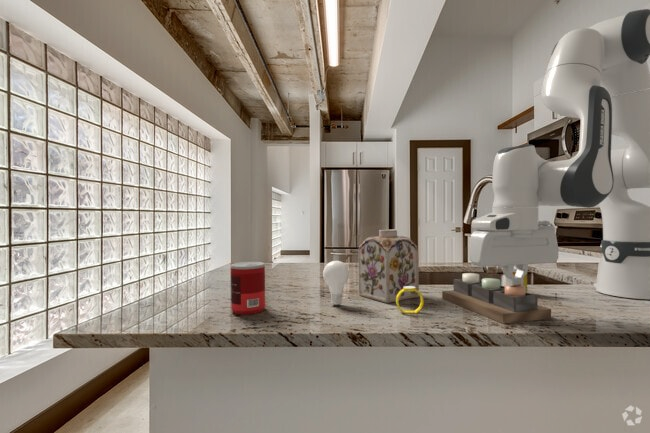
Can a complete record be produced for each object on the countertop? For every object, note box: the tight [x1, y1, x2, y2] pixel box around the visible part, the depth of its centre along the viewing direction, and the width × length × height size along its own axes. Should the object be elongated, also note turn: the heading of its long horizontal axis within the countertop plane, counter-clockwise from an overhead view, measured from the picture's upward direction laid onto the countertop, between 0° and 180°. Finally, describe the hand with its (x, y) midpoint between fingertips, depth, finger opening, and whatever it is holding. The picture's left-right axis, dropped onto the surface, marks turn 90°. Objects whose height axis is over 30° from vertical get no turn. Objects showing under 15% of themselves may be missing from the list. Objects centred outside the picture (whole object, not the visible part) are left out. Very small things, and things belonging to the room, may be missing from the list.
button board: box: [441, 278, 552, 325], centre depth 88 cm, size 12×22×5 cm, turn 15°
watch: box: [395, 286, 425, 315], centre depth 85 cm, size 6×3×6 cm, turn 89°
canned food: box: [230, 261, 266, 316], centre depth 89 cm, size 8×8×11 cm
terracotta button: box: [504, 284, 525, 297], centre depth 81 cm, size 4×4×3 cm
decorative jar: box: [357, 228, 420, 304], centre depth 101 cm, size 12×12×18 cm
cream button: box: [461, 272, 480, 283], centre depth 96 cm, size 4×4×3 cm
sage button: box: [481, 277, 501, 289], centre depth 88 cm, size 4×4×3 cm
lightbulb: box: [322, 260, 350, 307], centre depth 92 cm, size 6×6×11 cm
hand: (514, 285), depth 81 cm, fingers closed
